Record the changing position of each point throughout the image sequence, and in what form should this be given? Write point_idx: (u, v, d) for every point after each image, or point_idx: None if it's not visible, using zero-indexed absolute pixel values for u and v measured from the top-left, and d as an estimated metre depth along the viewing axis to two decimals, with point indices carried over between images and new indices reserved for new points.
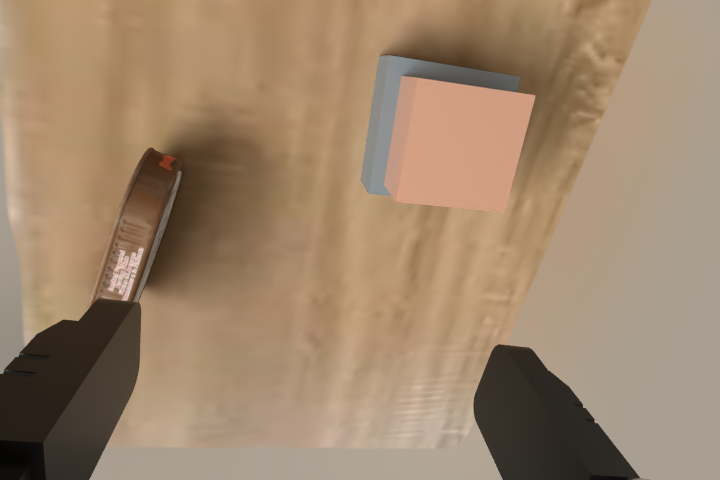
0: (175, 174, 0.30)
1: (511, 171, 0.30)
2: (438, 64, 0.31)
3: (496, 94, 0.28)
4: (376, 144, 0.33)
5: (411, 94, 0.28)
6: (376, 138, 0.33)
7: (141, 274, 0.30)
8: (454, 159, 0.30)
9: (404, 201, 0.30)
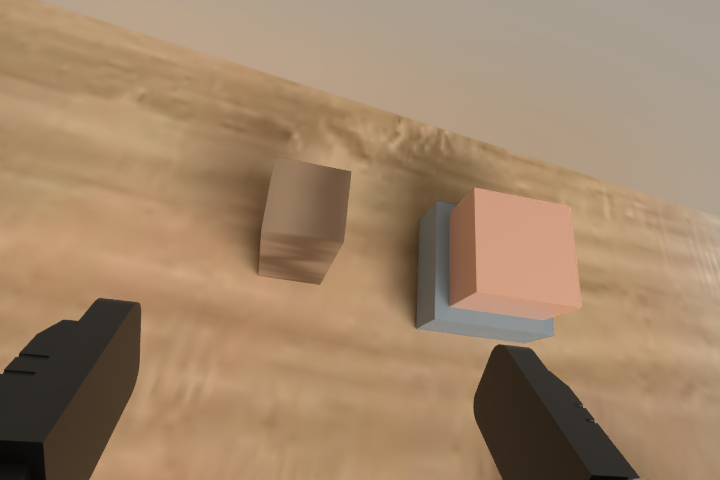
0: None
1: (536, 203, 0.33)
2: (436, 273, 0.34)
3: (479, 221, 0.32)
4: (510, 329, 0.34)
5: (485, 297, 0.30)
6: (503, 329, 0.34)
7: None
8: (535, 254, 0.32)
9: (580, 299, 0.31)
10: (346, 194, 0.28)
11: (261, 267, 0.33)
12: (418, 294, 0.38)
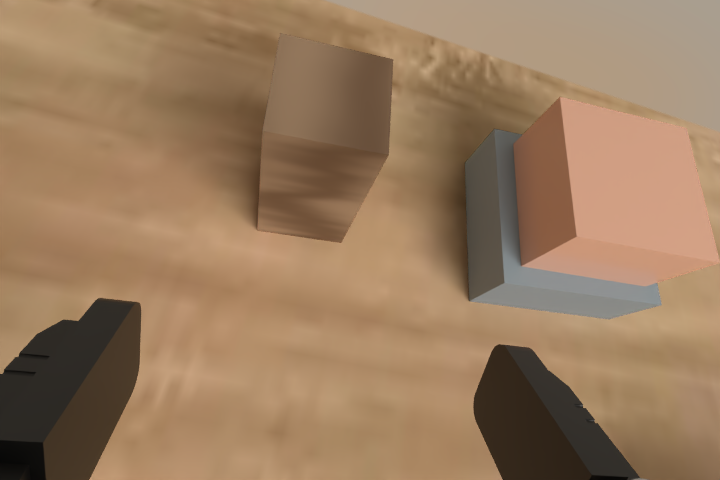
0: None
1: (642, 122, 0.24)
2: (501, 222, 0.25)
3: (571, 140, 0.22)
4: (603, 296, 0.25)
5: (584, 246, 0.21)
6: (595, 297, 0.25)
7: None
8: (650, 188, 0.22)
9: (716, 251, 0.22)
10: (388, 89, 0.19)
11: (262, 215, 0.24)
12: (470, 255, 0.28)
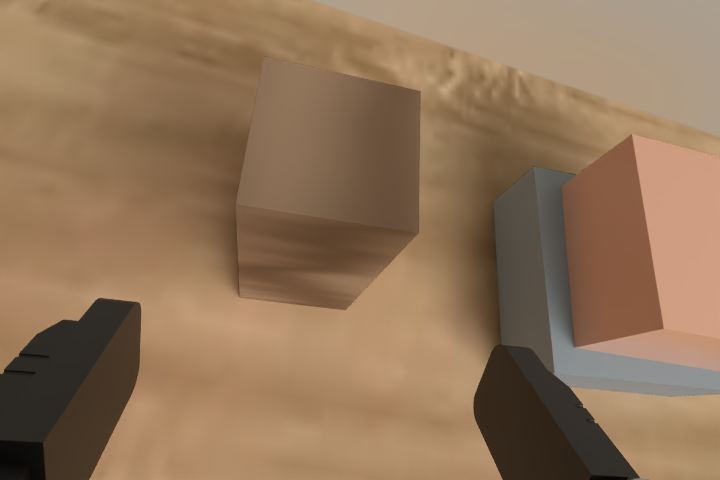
0: None
1: None
2: (547, 289, 0.20)
3: (648, 193, 0.17)
4: (678, 384, 0.20)
5: (669, 337, 0.16)
6: (667, 385, 0.20)
7: None
8: None
9: None
10: (415, 135, 0.14)
11: (244, 285, 0.18)
12: (503, 321, 0.23)
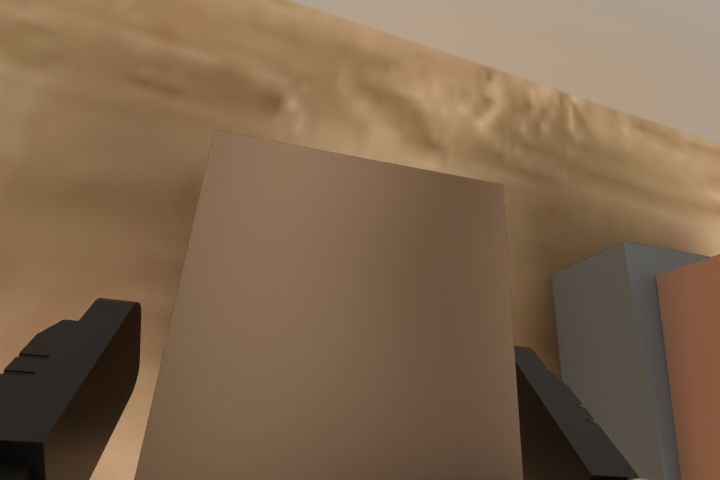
0: None
1: None
2: (659, 438, 0.13)
3: None
4: None
5: None
6: None
7: None
8: None
9: None
10: (500, 276, 0.07)
11: None
12: None
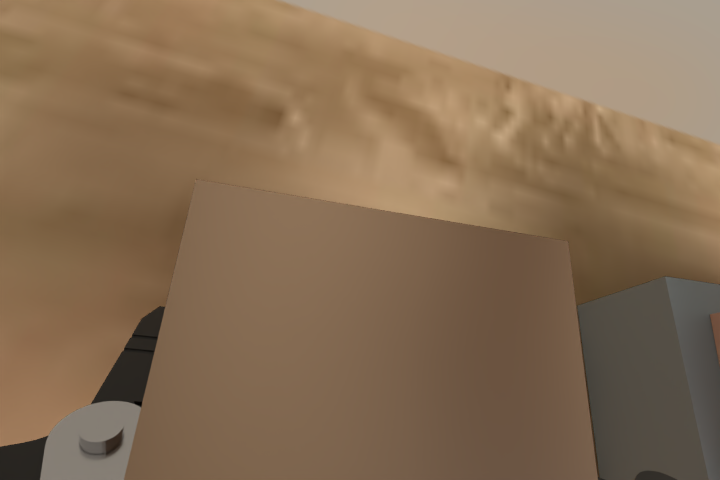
0: None
1: None
2: None
3: None
4: None
5: None
6: None
7: None
8: None
9: None
10: (573, 368, 0.05)
11: None
12: None
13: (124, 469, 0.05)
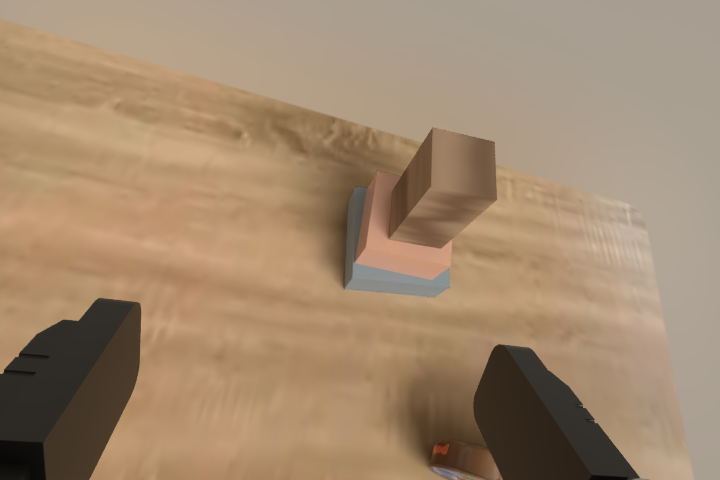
0: (451, 440, 0.38)
1: None
2: (354, 243, 0.44)
3: (377, 195, 0.41)
4: (413, 283, 0.44)
5: (374, 252, 0.40)
6: (409, 284, 0.44)
7: None
8: None
9: (449, 260, 0.40)
10: (493, 160, 0.33)
11: (398, 230, 0.38)
12: (345, 262, 0.47)
13: None
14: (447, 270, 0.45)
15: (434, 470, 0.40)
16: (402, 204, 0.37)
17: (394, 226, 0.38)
